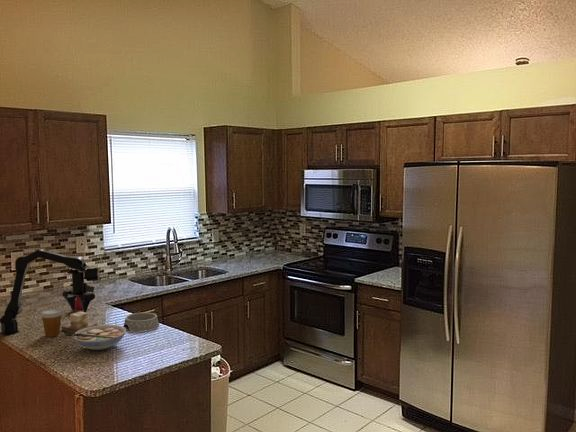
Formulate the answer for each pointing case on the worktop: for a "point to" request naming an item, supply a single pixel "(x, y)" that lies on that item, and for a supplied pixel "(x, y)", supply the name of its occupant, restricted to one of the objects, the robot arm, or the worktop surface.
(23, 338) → the worktop surface
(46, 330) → the disposable coffee cup
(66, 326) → the walnut board
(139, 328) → the dog bowl
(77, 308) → the soda can
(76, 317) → the maple cube
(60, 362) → the worktop surface
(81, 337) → the ramen bowl
